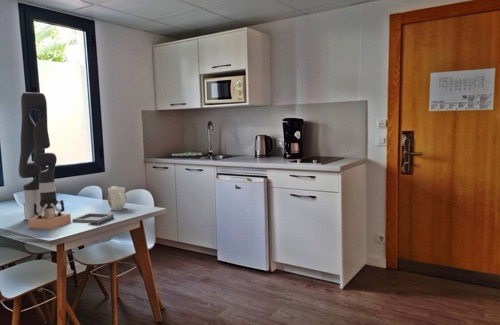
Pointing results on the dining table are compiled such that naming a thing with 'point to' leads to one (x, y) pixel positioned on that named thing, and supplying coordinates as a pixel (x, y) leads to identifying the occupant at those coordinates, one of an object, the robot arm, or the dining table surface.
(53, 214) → the cylinder
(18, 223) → the dining table surface
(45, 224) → the orange open box
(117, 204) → the pitcher
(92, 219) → the tray
